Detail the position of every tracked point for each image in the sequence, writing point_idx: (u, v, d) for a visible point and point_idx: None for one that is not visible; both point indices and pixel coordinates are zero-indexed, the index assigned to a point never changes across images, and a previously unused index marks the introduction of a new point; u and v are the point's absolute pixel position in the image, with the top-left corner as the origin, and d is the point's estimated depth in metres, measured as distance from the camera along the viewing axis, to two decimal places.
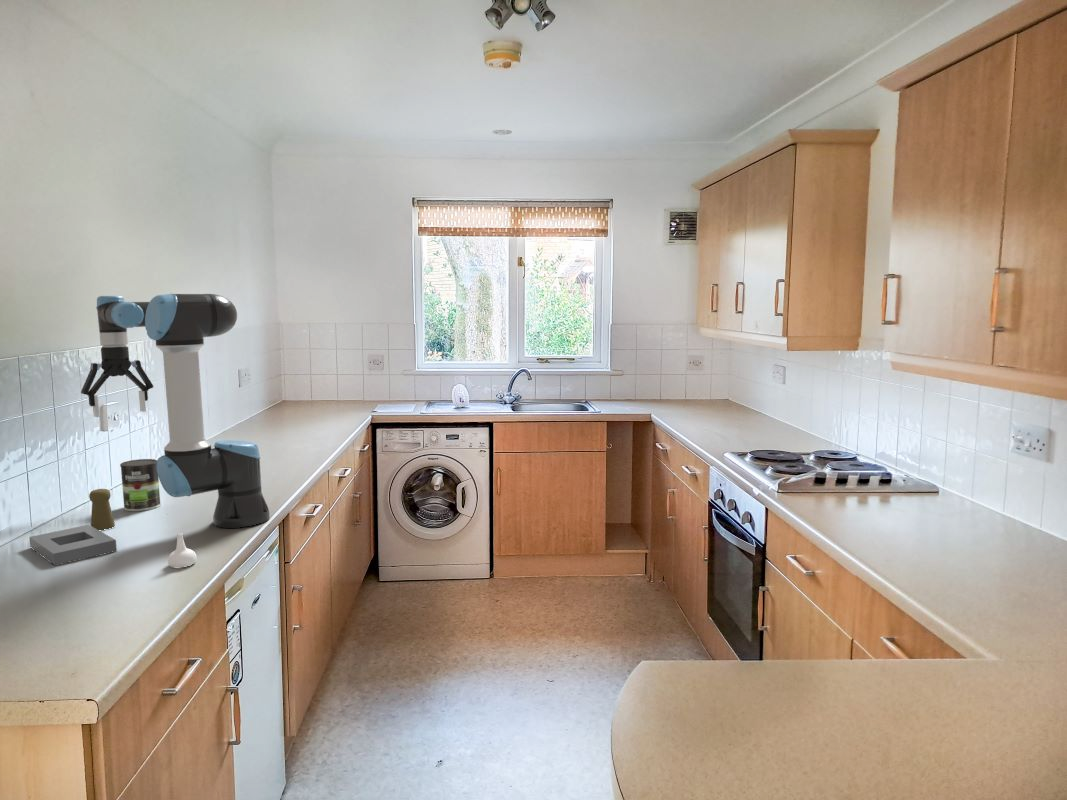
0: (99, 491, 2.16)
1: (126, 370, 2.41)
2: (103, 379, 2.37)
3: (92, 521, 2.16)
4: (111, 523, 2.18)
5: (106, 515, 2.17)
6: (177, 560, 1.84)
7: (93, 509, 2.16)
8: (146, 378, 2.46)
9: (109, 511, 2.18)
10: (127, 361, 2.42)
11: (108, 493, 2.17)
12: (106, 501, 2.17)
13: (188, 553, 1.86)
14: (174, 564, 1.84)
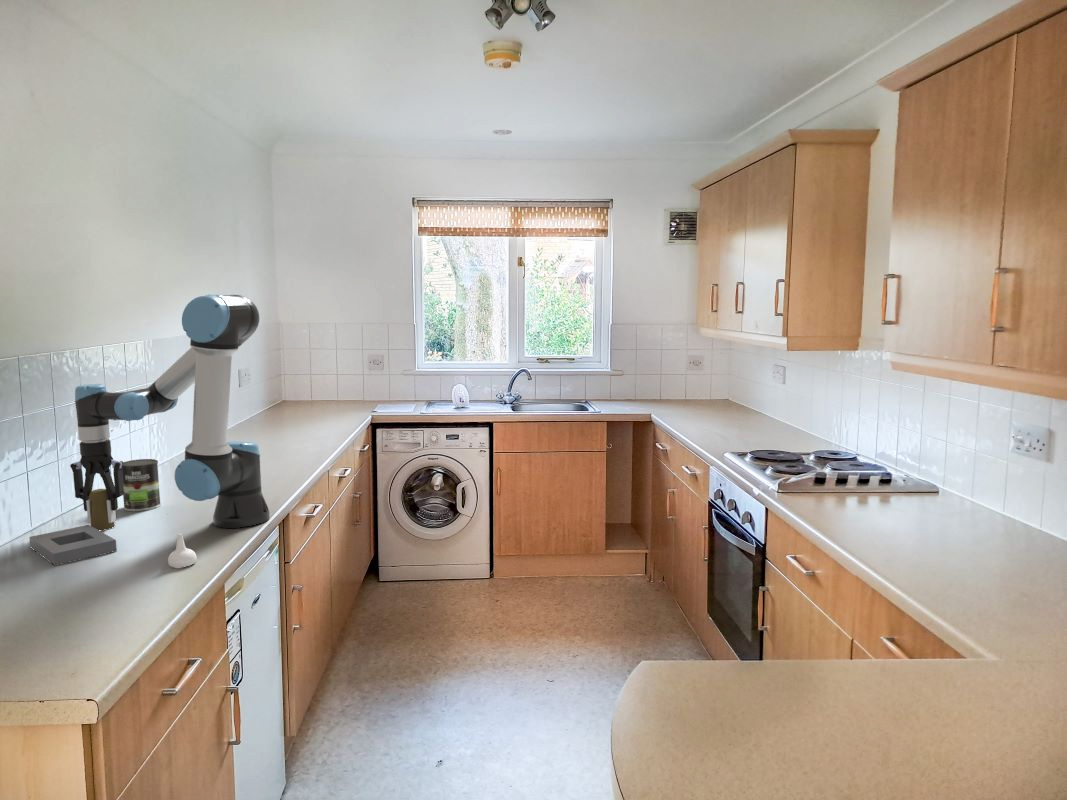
0: (99, 491, 2.16)
1: (100, 469, 2.14)
2: (87, 479, 2.15)
3: (92, 521, 2.16)
4: (111, 523, 2.18)
5: (106, 515, 2.17)
6: (177, 560, 1.84)
7: (93, 509, 2.16)
8: (116, 484, 2.16)
9: None
10: (106, 458, 2.15)
11: None
12: (106, 501, 2.17)
13: (187, 553, 1.86)
14: (174, 564, 1.84)
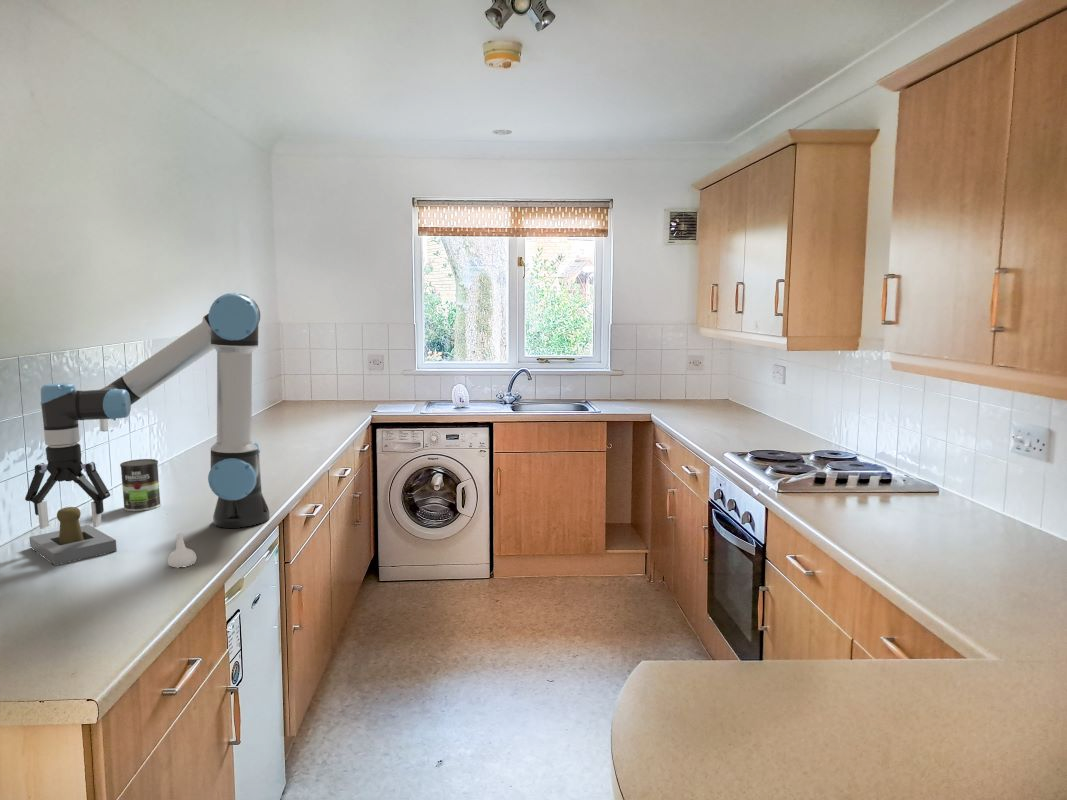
0: (67, 510, 1.97)
1: (71, 475, 1.95)
2: (46, 484, 1.96)
3: (60, 542, 1.97)
4: None
5: (76, 535, 1.98)
6: (177, 560, 1.84)
7: (61, 529, 1.97)
8: (97, 486, 1.96)
9: (79, 531, 1.99)
10: (74, 464, 1.95)
11: (78, 512, 1.98)
12: (76, 520, 1.98)
13: (187, 553, 1.86)
14: (174, 564, 1.84)
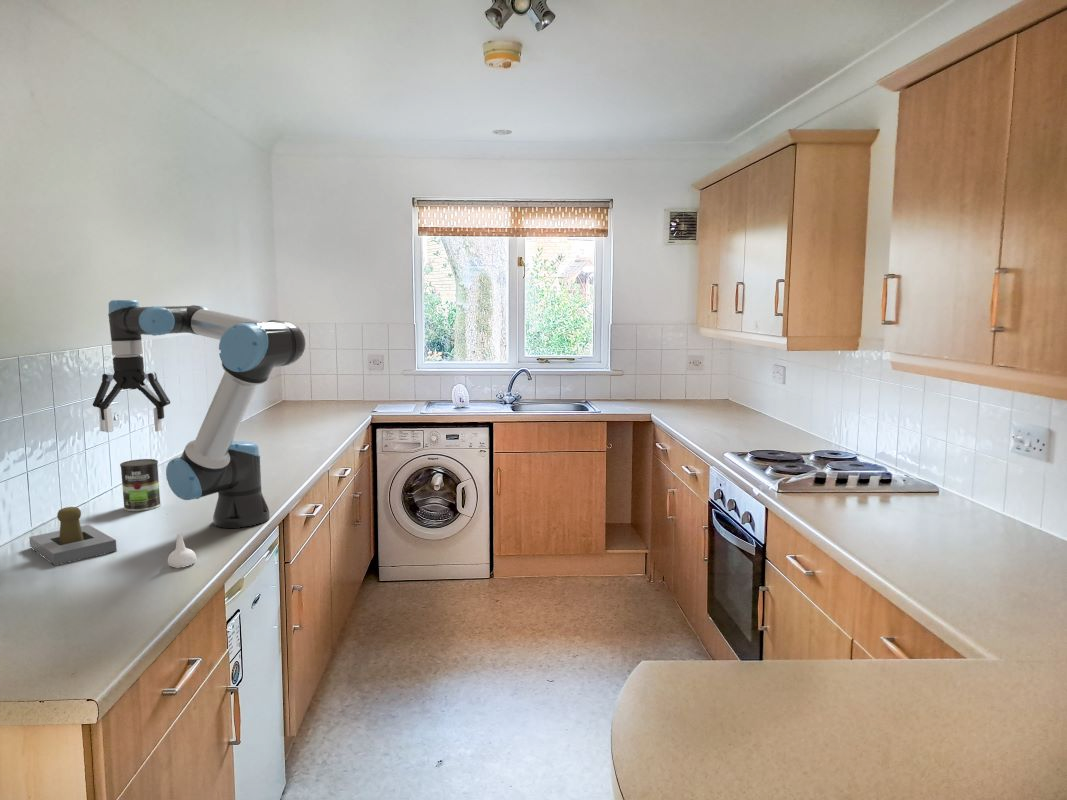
0: (68, 510, 1.97)
1: (135, 383, 2.15)
2: (112, 392, 2.16)
3: (60, 542, 1.97)
4: None
5: (76, 535, 1.98)
6: (177, 560, 1.84)
7: (61, 529, 1.97)
8: (159, 394, 2.16)
9: (79, 531, 1.99)
10: (138, 373, 2.15)
11: (78, 512, 1.98)
12: (76, 520, 1.98)
13: (187, 553, 1.86)
14: (174, 564, 1.84)
